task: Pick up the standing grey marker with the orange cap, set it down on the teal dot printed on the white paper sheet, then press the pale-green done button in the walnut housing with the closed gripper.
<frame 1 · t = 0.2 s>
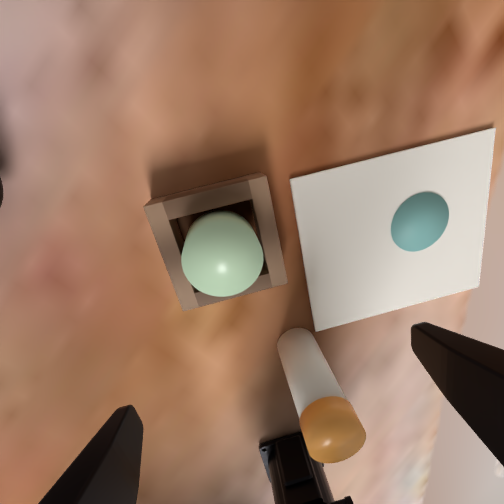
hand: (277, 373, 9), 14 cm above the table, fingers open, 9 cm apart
done button: (222, 252, 19), point 3 cm above the table, slide at 0.0 cm
paper: (394, 238, 24), on the table
button housing: (220, 237, 22), on the table
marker: (295, 343, 26), on the table
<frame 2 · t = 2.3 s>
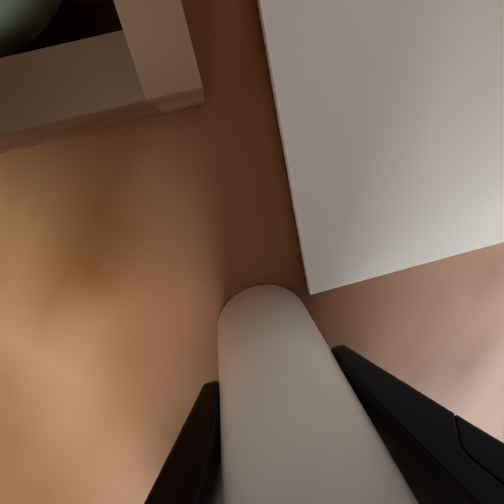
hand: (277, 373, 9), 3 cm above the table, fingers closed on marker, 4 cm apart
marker: (263, 325, 11), on the table, touching gripper
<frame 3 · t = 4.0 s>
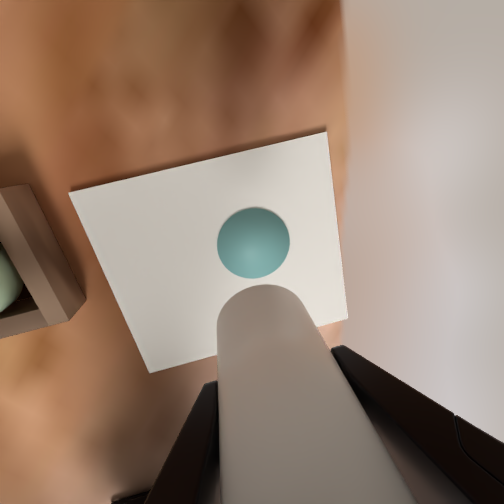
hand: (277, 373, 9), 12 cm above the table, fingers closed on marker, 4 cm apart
paper: (228, 263, 20), on the table
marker: (262, 325, 11), point 9 cm above the table, touching gripper
when the fingers open (4 cm above the table, at t = 5.7 s): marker stays where it is, resting on paper.
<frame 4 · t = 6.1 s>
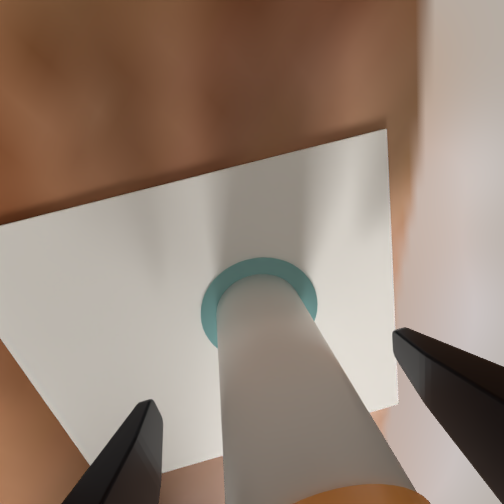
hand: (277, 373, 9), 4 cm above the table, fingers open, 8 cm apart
paper: (220, 338, 13), on the table
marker: (259, 312, 12), resting on paper
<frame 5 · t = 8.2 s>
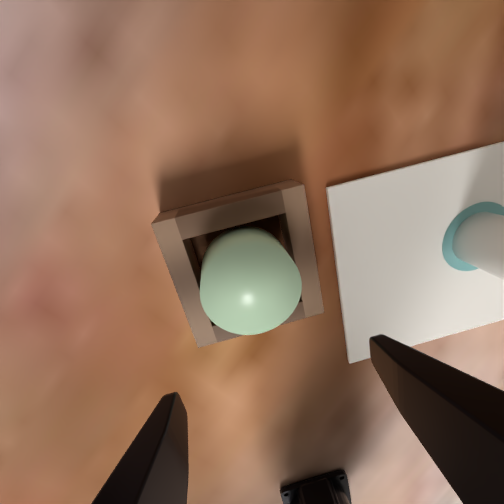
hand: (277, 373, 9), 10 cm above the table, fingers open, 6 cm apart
done button: (248, 278, 15), point 3 cm above the table, slide at 0.0 cm
paper: (445, 256, 20), on the table
button housing: (242, 256, 18), on the table
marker: (476, 237, 19), resting on paper
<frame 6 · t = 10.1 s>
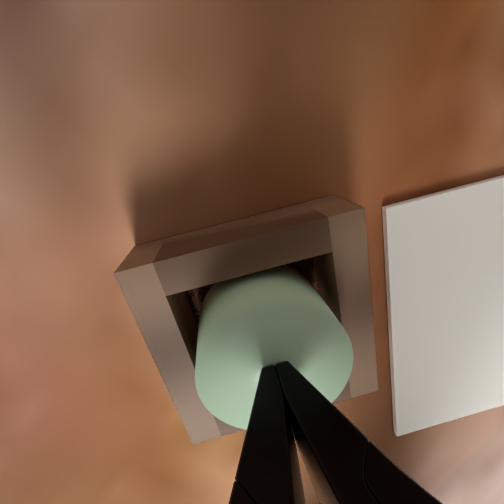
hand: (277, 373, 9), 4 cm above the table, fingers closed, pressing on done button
done button: (267, 341, 10), point 3 cm above the table, slide at -0.7 cm, touching gripper
button housing: (257, 305, 12), on the table
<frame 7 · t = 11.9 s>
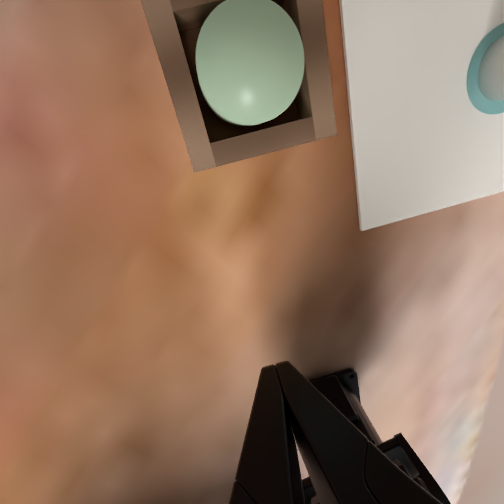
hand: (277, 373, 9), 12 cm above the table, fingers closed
done button: (247, 71, 14), point 2 cm above the table, slide at -1.3 cm
paper: (468, 96, 18), on the table
button housing: (243, 78, 16), on the table
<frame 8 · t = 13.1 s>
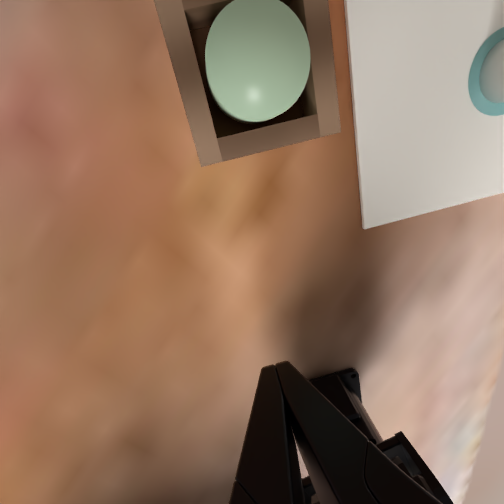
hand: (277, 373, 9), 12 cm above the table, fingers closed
done button: (254, 69, 15), point 2 cm above the table, slide at -1.3 cm
paper: (470, 97, 18), on the table
button housing: (250, 77, 16), on the table
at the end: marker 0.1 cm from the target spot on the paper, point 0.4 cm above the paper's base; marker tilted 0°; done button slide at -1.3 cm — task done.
